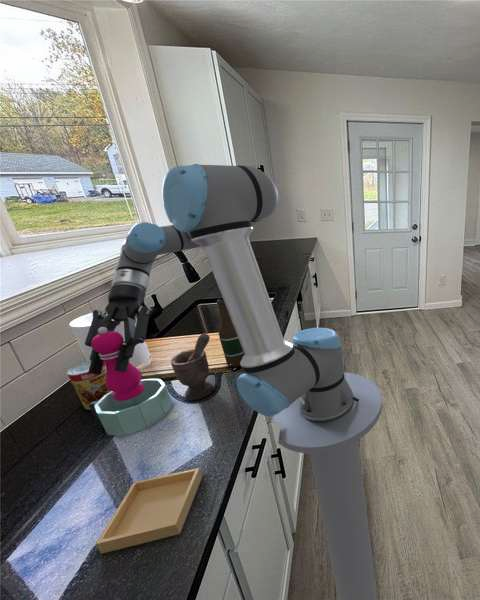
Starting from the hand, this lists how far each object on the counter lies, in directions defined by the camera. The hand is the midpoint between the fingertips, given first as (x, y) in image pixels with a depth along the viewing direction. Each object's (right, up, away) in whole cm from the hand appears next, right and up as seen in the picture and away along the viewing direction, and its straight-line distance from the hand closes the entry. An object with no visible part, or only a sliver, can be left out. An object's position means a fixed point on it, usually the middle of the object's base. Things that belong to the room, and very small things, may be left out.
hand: (107, 372), depth 78 cm
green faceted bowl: (-1, -14, +9) cm, 17 cm away
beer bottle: (+15, -4, +34) cm, 37 cm away
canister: (-26, -6, +34) cm, 43 cm away
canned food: (-17, -13, +16) cm, 27 cm away
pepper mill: (0, -8, +7) cm, 10 cm away
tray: (+26, -23, -17) cm, 38 cm away
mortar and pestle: (+13, -10, +18) cm, 25 cm away
